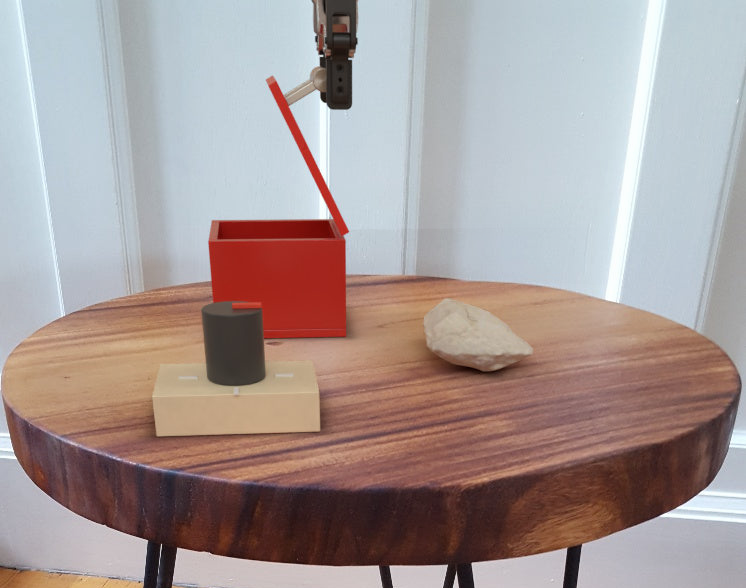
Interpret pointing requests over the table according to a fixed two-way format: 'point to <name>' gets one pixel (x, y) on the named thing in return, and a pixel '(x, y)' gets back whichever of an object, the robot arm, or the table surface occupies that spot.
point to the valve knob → (234, 342)
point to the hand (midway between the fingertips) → (335, 106)
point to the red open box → (283, 273)
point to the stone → (472, 337)
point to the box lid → (283, 103)
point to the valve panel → (236, 401)
